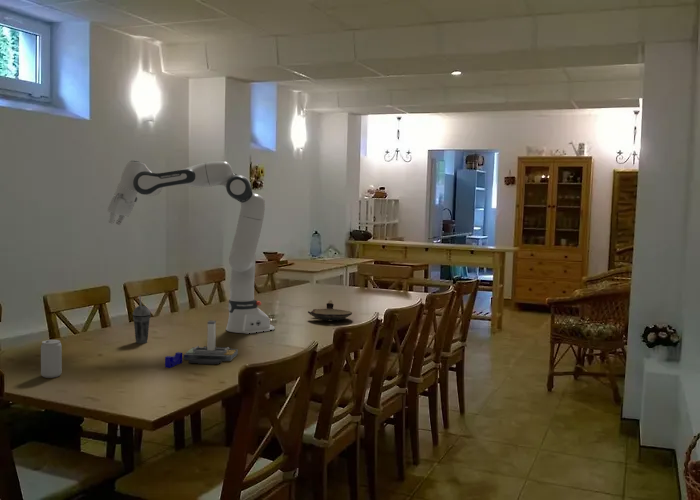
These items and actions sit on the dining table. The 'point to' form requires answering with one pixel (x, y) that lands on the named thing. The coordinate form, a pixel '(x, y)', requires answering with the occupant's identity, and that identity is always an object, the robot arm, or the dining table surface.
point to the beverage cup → (141, 323)
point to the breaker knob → (211, 335)
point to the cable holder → (173, 360)
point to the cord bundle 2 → (205, 361)
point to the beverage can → (51, 358)
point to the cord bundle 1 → (218, 347)
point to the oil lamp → (330, 313)
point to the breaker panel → (211, 353)
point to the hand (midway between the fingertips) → (114, 223)
